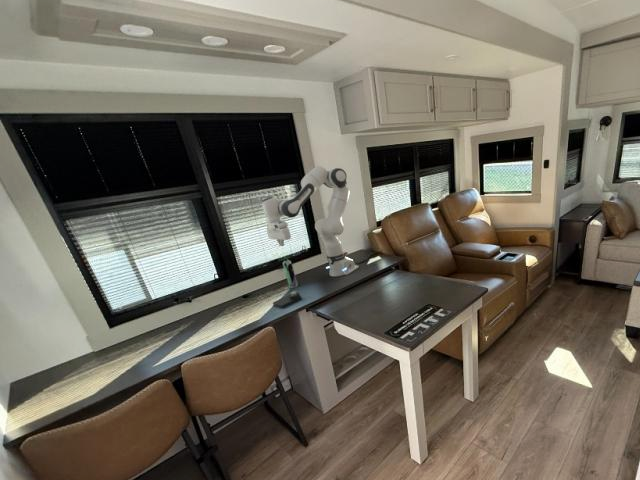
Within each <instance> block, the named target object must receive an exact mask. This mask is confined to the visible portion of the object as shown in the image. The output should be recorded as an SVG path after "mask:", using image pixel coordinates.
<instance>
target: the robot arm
mask: <svg viewBox="0 0 640 480" xmlns="http://www.w3.org/2000/svg"><path fill="white" fill-rule="evenodd" d="M322 185H325V186H326V187H327V188H331V189H332V194H331V197H330V200H329V203H328V205H327V207H326V208H327V211H328V212H327V213H328V214H327V218H319V219H318V220H317V221H315V223H314V229H315V231H316V232H317V233H318V234H319V236H320V238H321V240H322V242H323V245H324V248H325V252H326V259H327V263H328V266H326V267H325V269H329V276H330V277H340V276H347V275H350V274H351V273H353V272H355V271H357V270H358V269H359V268H360V266H359V265H360V264H362V263H364V262H366V261H367V260H368V259H369V258H370V257H371V256H372V255H375V254H377V253H378V252H376V251H375V252H372V253H370V254H369V255H367V257H366V258H365V259H363V260H362V261H360V262H357V263H356V260H355V259H354V258H351V257H348V255H349V253H348V251H343V247H342V246H343V245H342V242H341V240H340V239H339V238H338V236H340V235H342V234H343V233H344V230H345V227H344V226H345V225H344V222H343V218H344V212H345V211H346V208H347V207H346V206H347V204H348V201H349V197H350V192H351V191H350V188H348V186H347V185H348V175H347V173H346V171H345V170H344V169H343V168H340V167H336V168H333V169H331V170H327V169H326V168H325V167H323V166H322V165H317V166H315V167H314V168H312V169H311V170H309V171H308V172H307V173H306V174H305V175H304V176H303V177H302V179H301V181H300V187H301V189H300V191H299V192H297V194H296V195H295V196H294V197H293V198H291V199H288V200H287V199H281V198H277V197H275V196H269V197H266V198H264V199H262V201H261V207H262V211H263V214H264V216H265V219H266V220H265V221H266V224H267V226H266V233H267V237H268V239H270V240H276V242H277V244H278V245H279V247H284V246H285V241H289V240H290V239H291V237H292V235H291V232H290V229H289V224H288V222H287V221H284V220H283V218H282V217H287V218H296V217H297V216H298V215H299V213H300V211H301V209H302V207H303V206H304V204H305V203H306V202H307V201H308V200H309V199H310V197H311V196H312V195H313V194H314V193H315V192H317V191H318V189H320V187H322Z"/></svg>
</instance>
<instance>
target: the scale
mask: <svg viewBox="0 0 640 480" xmlns="http://www.w3.org/2000/svg"><path fill="white" fill-rule="evenodd" d="M296 293H297V295H295V296H291V293H289V294H288V295H286V296H284V297H281V298H279V299H277V300H275V301H273V302H272V305H273V307H276V308H280V309H283V310H284V309H286V308H287V307H289V306H291V305H294V304H296V303H298V302H300V301H301V300H302V296H301V293H300V292H298V291H296Z"/></svg>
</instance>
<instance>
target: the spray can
mask: <svg viewBox="0 0 640 480" xmlns="http://www.w3.org/2000/svg"><path fill="white" fill-rule="evenodd" d="M282 267H283V270H284V273H285V278H286V280H287V284H288V287H289V288H290V289H294V288H295V289H296V288H297V287H298V285H299V284H298V281H297V277H296V274H295V269H294V267H293V264H292V261H291V260H289V259H288V258H287V257H285V258H284V260H283V262H282Z"/></svg>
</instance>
